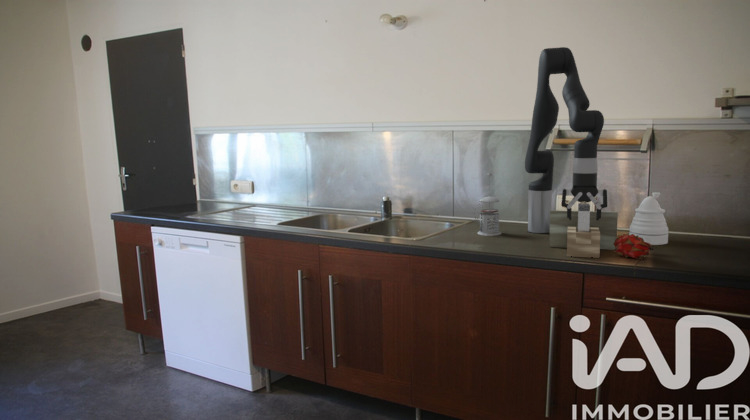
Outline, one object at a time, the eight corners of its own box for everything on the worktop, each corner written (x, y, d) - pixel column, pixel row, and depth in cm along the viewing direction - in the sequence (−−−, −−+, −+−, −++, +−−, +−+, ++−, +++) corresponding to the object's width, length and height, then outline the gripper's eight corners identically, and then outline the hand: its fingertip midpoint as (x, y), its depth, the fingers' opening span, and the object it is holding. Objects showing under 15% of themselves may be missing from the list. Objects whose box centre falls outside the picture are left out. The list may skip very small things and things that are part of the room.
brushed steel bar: (577, 237, 187) (578, 203, 185) (588, 238, 186) (589, 203, 184) (577, 241, 180) (578, 206, 179) (588, 242, 179) (590, 206, 177)
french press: (506, 234, 220) (506, 172, 217) (481, 237, 216) (482, 174, 212) (492, 230, 229) (492, 171, 226) (468, 233, 225) (468, 172, 222)
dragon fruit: (610, 259, 180) (649, 269, 174) (607, 248, 174) (648, 258, 167) (617, 237, 183) (656, 245, 176) (615, 225, 176) (656, 234, 169)
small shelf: (549, 246, 196) (550, 210, 194) (615, 248, 189) (617, 211, 187) (547, 255, 182) (548, 217, 180) (619, 258, 174) (621, 218, 172)
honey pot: (663, 238, 204) (665, 190, 202) (671, 245, 192) (674, 195, 190) (626, 237, 208) (628, 190, 205) (632, 244, 196) (634, 194, 193)
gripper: (607, 170, 181) (605, 218, 183) (562, 170, 185) (561, 217, 188) (609, 172, 174) (607, 222, 176) (562, 172, 178) (560, 221, 181)
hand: (583, 219), depth 182 cm, fingers open, 8 cm apart
